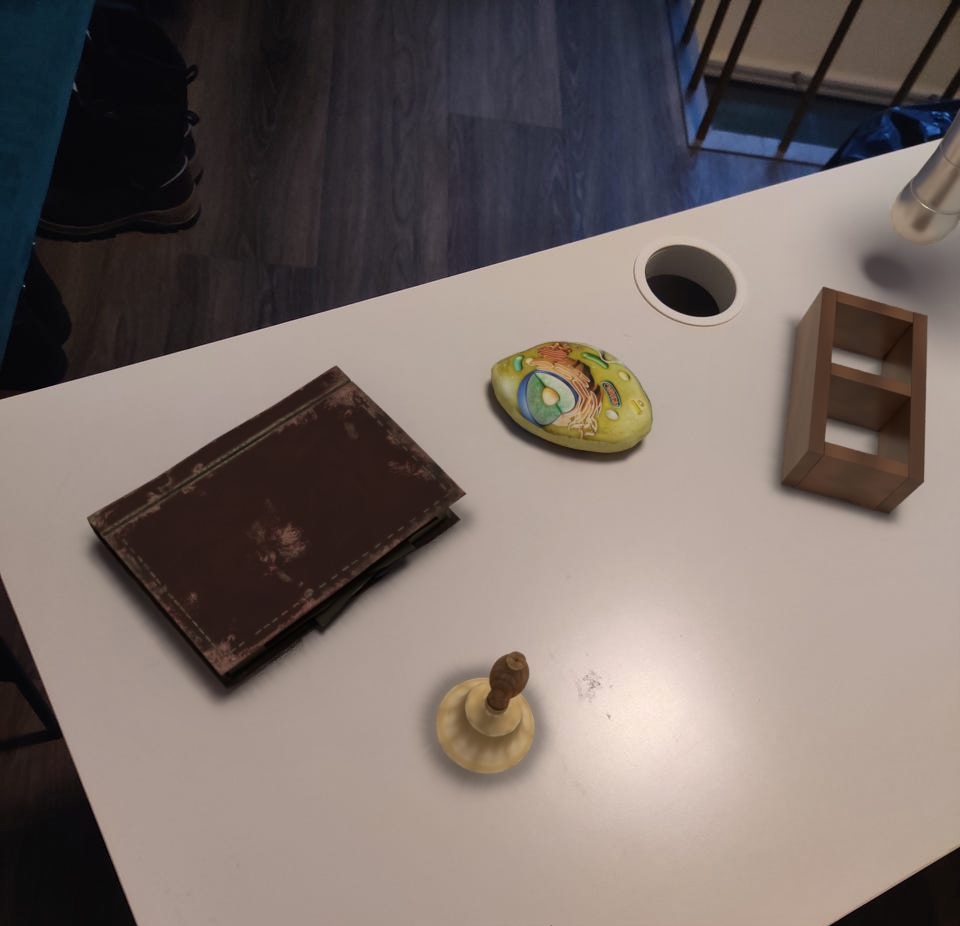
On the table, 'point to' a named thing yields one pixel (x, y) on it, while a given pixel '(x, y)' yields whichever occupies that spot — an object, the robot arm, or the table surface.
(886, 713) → the table surface
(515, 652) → the hand bell
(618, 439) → the cell model
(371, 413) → the diary
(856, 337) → the shelf
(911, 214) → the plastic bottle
